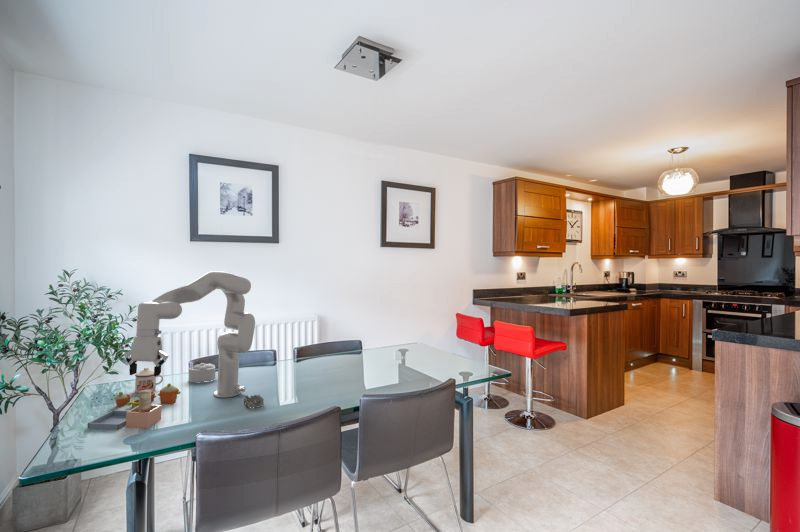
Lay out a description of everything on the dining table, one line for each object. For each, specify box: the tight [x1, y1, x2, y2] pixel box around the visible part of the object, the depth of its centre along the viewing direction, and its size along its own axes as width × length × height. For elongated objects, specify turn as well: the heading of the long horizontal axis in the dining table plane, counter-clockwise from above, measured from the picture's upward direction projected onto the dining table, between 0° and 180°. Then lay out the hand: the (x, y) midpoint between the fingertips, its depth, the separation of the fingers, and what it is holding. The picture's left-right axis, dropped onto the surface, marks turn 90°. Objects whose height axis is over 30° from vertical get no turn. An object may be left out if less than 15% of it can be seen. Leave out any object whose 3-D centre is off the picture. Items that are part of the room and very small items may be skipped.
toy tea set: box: [113, 382, 181, 409], centre depth 174 cm, size 26×16×10 cm, turn 131°
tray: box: [87, 409, 129, 431], centre depth 152 cm, size 12×13×3 cm
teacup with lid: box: [134, 367, 164, 394], centre depth 191 cm, size 12×9×12 cm
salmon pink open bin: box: [125, 404, 163, 429], centre depth 152 cm, size 9×9×7 cm
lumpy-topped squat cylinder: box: [188, 362, 217, 383], centre depth 210 cm, size 10×13×9 cm
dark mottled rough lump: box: [243, 393, 265, 409], centre depth 179 cm, size 11×8×4 cm
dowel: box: [138, 390, 152, 412], centre depth 152 cm, size 4×4×13 cm
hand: (145, 374), depth 151 cm, fingers open, 9 cm apart
